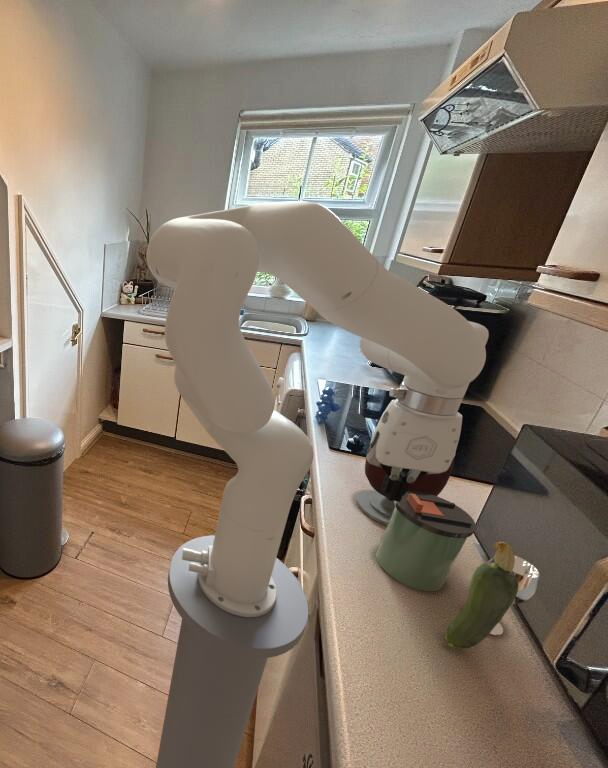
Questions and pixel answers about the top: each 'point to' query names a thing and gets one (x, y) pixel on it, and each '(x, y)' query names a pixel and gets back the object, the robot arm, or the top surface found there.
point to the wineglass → (521, 585)
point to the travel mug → (423, 542)
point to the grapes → (326, 405)
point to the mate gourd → (383, 508)
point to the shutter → (423, 506)
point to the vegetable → (485, 600)
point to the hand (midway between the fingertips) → (390, 496)
